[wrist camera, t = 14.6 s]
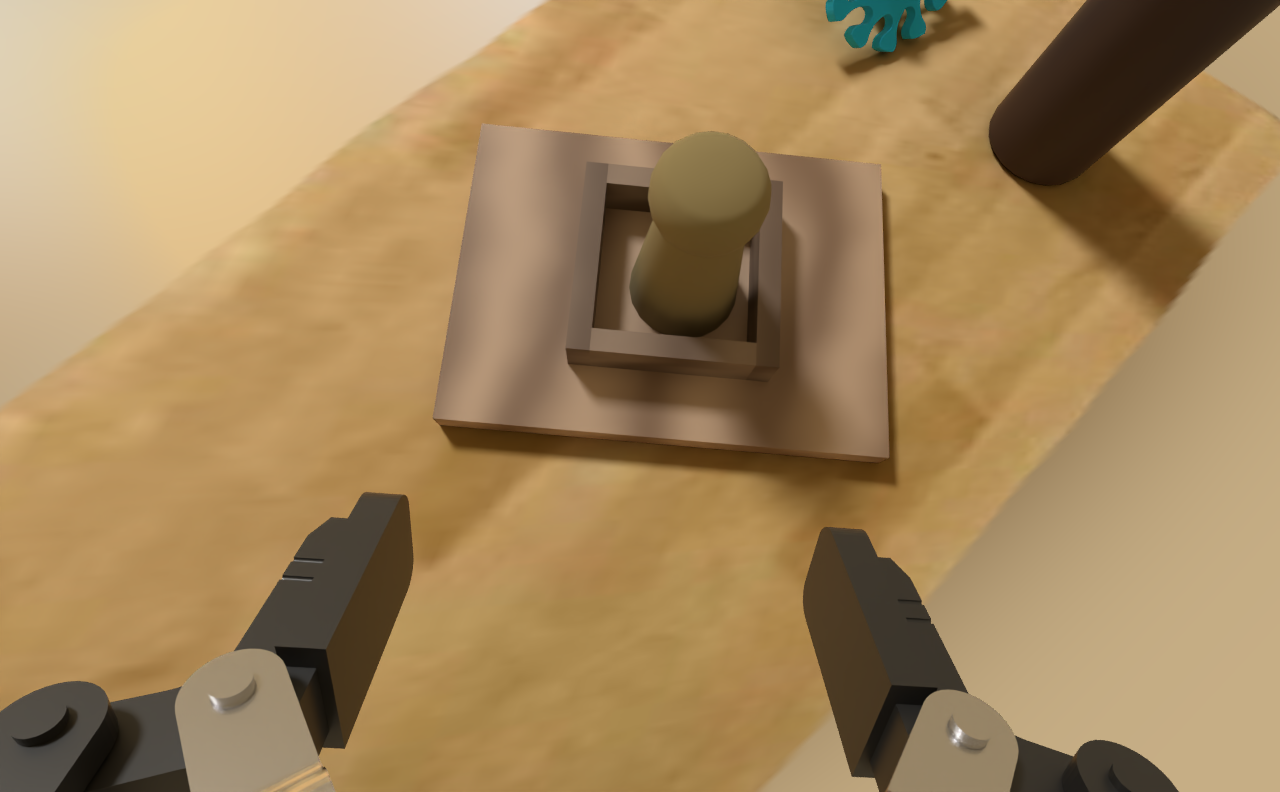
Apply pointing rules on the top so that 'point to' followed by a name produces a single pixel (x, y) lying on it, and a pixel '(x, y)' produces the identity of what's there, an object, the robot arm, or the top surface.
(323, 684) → the robot arm
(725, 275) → the cork
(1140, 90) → the bottle
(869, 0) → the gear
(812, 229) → the jig board
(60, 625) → the top surface
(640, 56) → the top surface
